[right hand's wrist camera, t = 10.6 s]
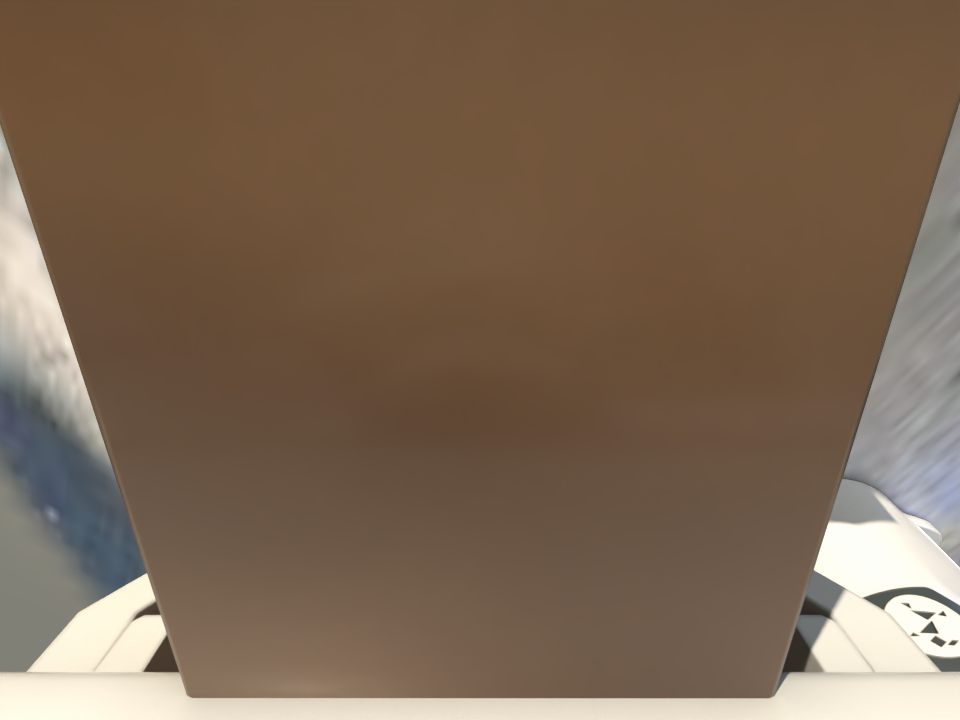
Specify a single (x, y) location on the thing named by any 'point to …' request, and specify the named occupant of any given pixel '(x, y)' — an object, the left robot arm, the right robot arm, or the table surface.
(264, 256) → the box
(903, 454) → the table surface
